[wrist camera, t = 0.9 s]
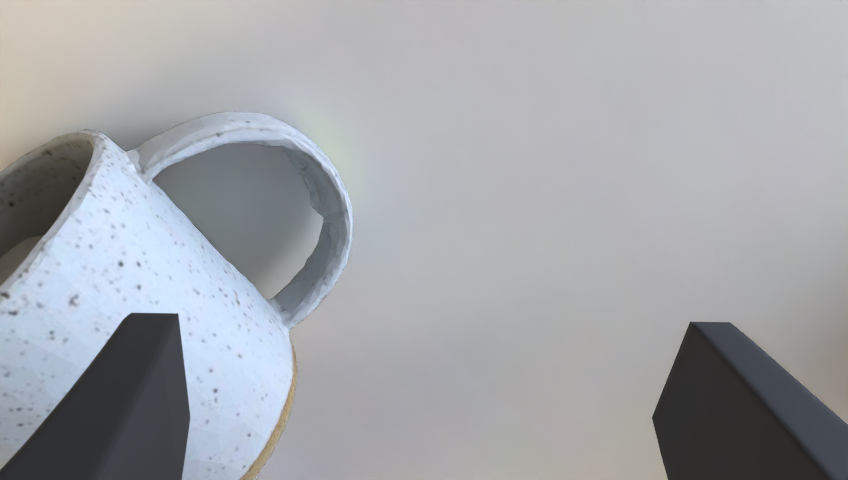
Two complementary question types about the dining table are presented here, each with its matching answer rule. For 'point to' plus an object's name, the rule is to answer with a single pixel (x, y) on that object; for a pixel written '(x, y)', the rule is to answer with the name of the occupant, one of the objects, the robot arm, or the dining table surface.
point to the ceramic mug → (154, 285)
